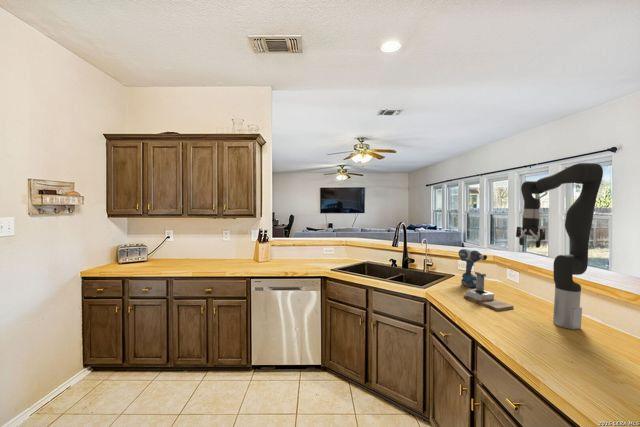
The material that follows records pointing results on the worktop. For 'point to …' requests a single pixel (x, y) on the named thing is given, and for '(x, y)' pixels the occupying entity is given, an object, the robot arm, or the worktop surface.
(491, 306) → the stand
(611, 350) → the worktop surface
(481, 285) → the chuck key
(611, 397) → the worktop surface
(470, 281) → the impact wrench
